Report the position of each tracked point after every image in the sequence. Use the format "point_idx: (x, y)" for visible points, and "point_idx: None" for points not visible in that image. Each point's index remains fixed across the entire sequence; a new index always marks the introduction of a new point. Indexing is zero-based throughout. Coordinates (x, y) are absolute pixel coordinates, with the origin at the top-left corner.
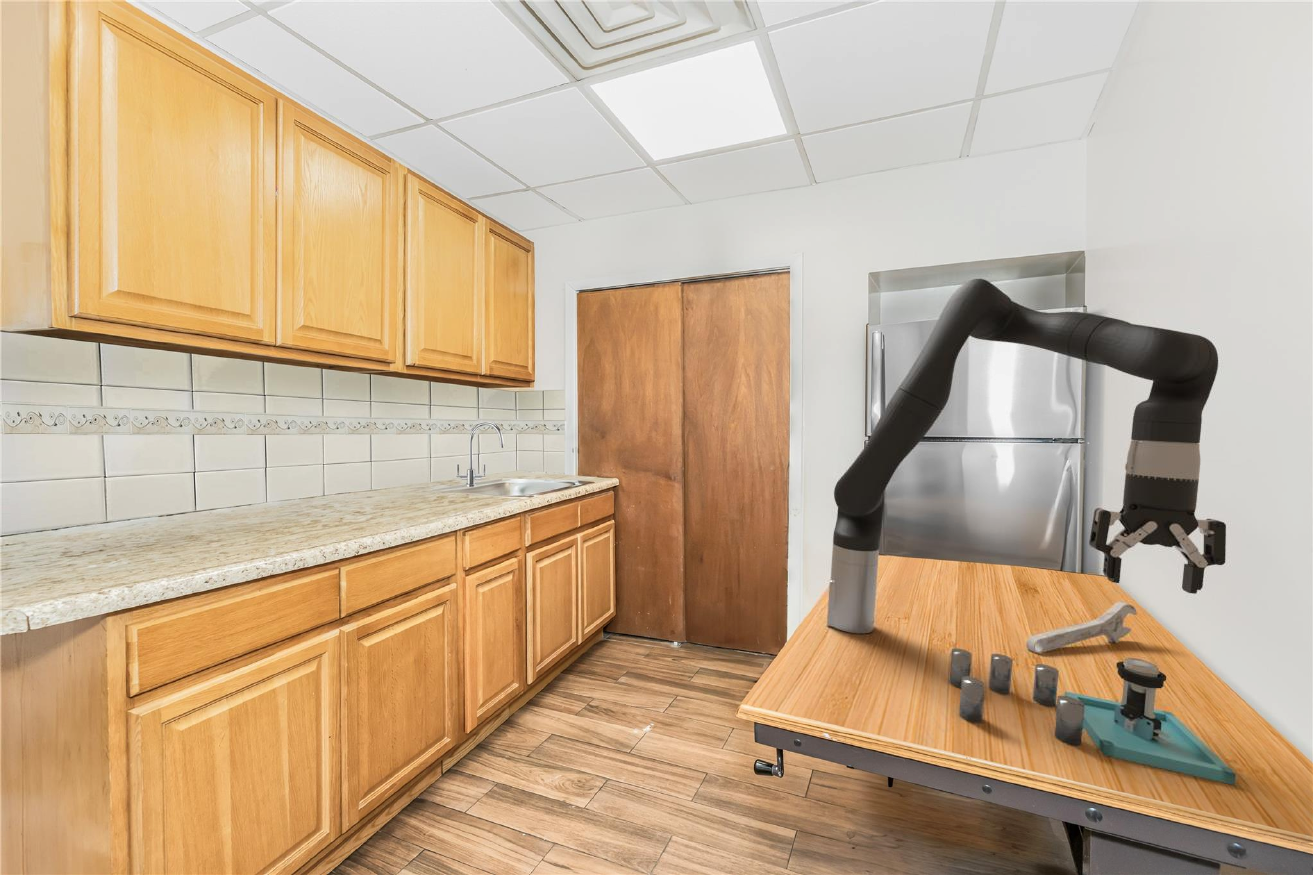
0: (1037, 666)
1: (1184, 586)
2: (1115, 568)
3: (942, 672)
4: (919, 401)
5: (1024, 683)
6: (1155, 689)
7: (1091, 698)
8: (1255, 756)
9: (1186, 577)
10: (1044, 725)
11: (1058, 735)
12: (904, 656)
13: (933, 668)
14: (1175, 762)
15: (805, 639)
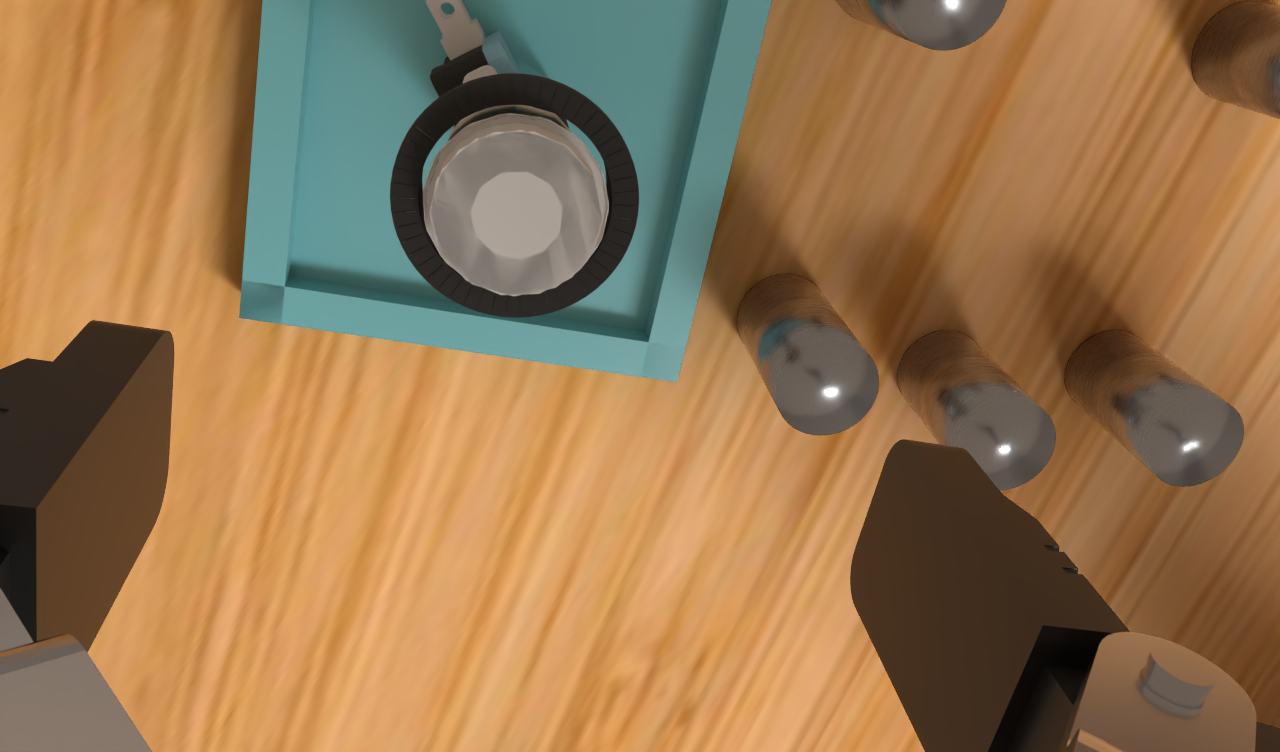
0: (869, 395)
1: (155, 476)
2: (1022, 536)
3: (1119, 465)
4: None
5: (772, 478)
6: (462, 120)
7: (581, 345)
8: (6, 71)
9: (113, 527)
10: (915, 77)
11: None
12: (1216, 570)
13: (1141, 492)
14: None
15: None
